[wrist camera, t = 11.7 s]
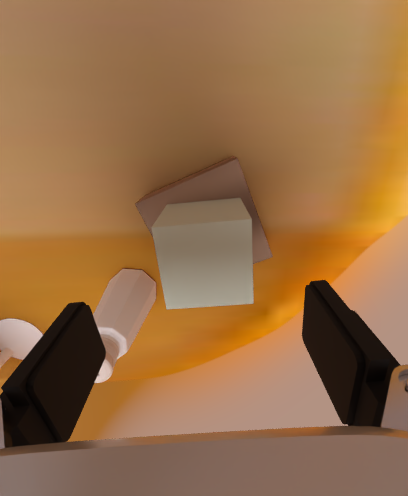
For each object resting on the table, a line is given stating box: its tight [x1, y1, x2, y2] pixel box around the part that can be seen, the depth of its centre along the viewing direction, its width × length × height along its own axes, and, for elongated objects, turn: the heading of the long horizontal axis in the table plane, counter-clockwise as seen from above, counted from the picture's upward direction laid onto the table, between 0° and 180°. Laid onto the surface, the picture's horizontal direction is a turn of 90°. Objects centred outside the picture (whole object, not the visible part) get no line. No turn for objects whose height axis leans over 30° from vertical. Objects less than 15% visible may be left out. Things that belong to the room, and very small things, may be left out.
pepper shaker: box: [93, 269, 156, 383], centre depth 23 cm, size 5×5×11 cm
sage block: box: [151, 198, 254, 309], centre depth 19 cm, size 6×6×6 cm
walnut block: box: [135, 156, 273, 264], centre depth 23 cm, size 9×9×4 cm
